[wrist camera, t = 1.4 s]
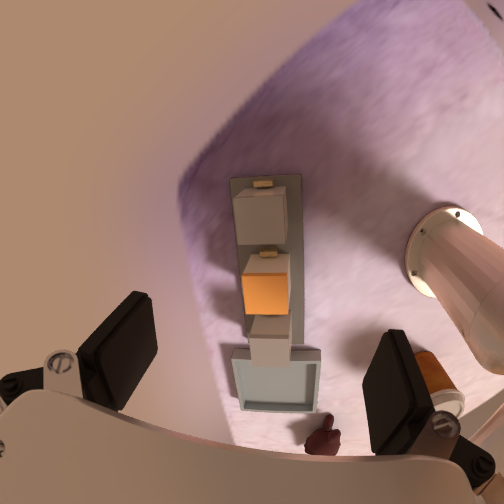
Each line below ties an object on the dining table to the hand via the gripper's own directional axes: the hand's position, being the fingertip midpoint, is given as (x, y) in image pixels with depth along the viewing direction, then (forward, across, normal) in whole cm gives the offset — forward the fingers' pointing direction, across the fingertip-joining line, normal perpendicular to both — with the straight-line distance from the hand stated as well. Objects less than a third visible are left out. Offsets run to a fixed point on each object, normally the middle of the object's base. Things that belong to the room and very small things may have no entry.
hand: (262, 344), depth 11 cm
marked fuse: (+23, +1, +8) cm, 25 cm away
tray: (+24, -2, +28) cm, 37 cm away
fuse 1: (+23, +2, 0) cm, 23 cm away
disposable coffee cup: (+24, -26, +22) cm, 42 cm away
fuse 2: (+23, 0, +16) cm, 28 cm away
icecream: (+24, -14, +43) cm, 51 cm away
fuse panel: (+24, +1, +8) cm, 26 cm away
